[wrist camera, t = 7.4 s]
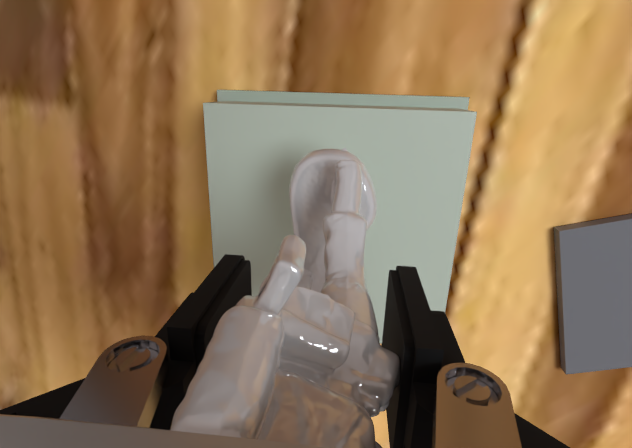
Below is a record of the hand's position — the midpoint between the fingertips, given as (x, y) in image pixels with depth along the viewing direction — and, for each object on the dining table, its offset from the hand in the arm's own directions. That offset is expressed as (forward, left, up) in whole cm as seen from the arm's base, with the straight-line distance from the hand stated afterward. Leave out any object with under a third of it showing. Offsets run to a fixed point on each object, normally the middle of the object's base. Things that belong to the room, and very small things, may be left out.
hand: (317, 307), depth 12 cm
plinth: (0, 0, -10) cm, 10 cm away
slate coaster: (+3, +17, -10) cm, 20 cm away
